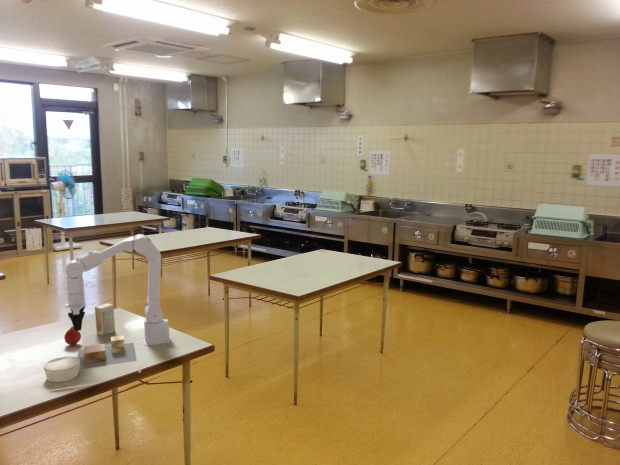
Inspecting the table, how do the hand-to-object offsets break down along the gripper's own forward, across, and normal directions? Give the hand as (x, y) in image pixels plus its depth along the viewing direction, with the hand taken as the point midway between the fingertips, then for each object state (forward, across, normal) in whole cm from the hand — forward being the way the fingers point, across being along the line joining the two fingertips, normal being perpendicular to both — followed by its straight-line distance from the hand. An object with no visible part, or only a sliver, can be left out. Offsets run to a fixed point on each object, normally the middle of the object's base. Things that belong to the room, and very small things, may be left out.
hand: (78, 326), depth 184 cm
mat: (+10, +8, +9) cm, 16 cm away
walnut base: (+10, +10, +5) cm, 15 cm away
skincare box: (+10, -17, +9) cm, 22 cm away
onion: (+10, -7, -3) cm, 13 cm away
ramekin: (+10, +21, -5) cm, 24 cm away
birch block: (+10, +5, +13) cm, 17 cm away
